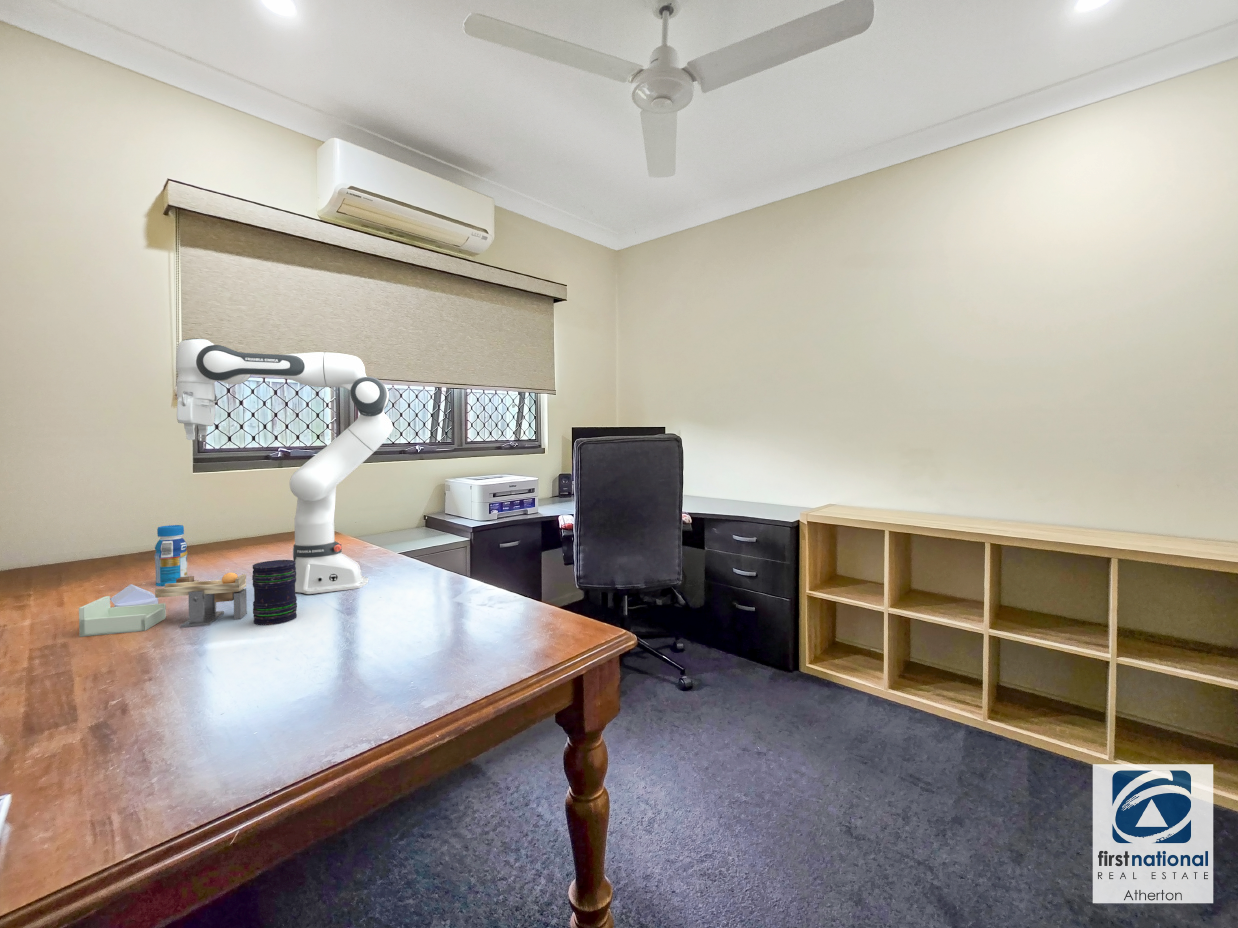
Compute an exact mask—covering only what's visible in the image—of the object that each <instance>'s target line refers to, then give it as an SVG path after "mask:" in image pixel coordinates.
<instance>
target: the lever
mask: <svg viewBox="0 0 1238 928" xmlns="http://www.w3.org/2000/svg"><path fill="white" fill-rule="evenodd" d="M246 587H247V574H246V573H244V574H243V573H242V574H240V575H238V577H237V578H236V579H235V583H228V584H223V583H222V579H215V580H201V581H199V579H198V580H197V579H195V576H194V575H191V576H189V575H188V576H187V577H180V578H178V579H176V583H170V584H165V586H164V587H160V588H159V587H158V588H155V589H154V593H155V594H154V595H155V598H158V599H159V598H170V597H171V598H172V597H183V596H184V597H185V596H188V592H190V591H202V590H204V594H213V593H214V599H215V602H216V603H222V602H223V603H225V602H234V593H235V592H239V591H240V590H242V589H245V588H246Z"/></svg>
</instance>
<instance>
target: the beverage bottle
mask: <svg viewBox="0 0 1238 928" xmlns="http://www.w3.org/2000/svg"><path fill="white" fill-rule="evenodd" d="M184 528H185V527H184V525H183V524H175V525H174V524H172V525H171V524H169V525H162V526H161V525H160V526H158V527H157V528H156V529H157V533H156V534H157V537H158V538H159V539H158V540H157V542H156V543H155V545H154V550H155V554H154V563H155V570H154V571H155V586H156V587H165V584H170V583H176V579H178V578H180V577H188V555H189V554H188V553H189V552H188V550H187V547H188V544H187V542H186V540H185V539H184V538H183V536H184V535H185V529H184Z"/></svg>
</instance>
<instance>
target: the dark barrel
mask: <svg viewBox="0 0 1238 928" xmlns="http://www.w3.org/2000/svg"><path fill="white" fill-rule="evenodd" d="M295 565H296V561H294V560H293V559H274V560H268V561H261V562H257V563H254V564H252V576H251V578H252V588H253V599H254V600H253V602H252V607H253V608H252V614H253V624H254V625H255V626H274V625H279V624H285V623H289V622H291V621H293V620H296V619H297V617H298V616H297V611H298V610H297V608H298V602H297V600H298V598H297V596H296V592H295V583H296V566H295Z"/></svg>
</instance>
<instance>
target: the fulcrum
mask: <svg viewBox="0 0 1238 928" xmlns="http://www.w3.org/2000/svg"><path fill="white" fill-rule="evenodd" d="M247 595H248V594H247V588H246V587H245V588H243V589H242V590H240V591H239V592H235V593H234V600H233V620H234V621H235V620H241V619H243V618H244V617H245V616H246V615H247V614H248V610H247V609H248V607H247V606H248V605H247V604H248V603H247V601H248V600H247ZM187 596H188V619H187V620H186V621H184V622H182V624H180V625H179V626H180V628H181V629H182V628H191V627H201V626H203V627H204V626H210V625H211V624H212V623H213V622H214V621H216V620H217V619H219V618H220V617H222V615H224V614H225V610H220V611H219V610H218V611H217V602H215V599H214V593H213V594H204V590H202V591H190V592H188V595H187Z"/></svg>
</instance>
